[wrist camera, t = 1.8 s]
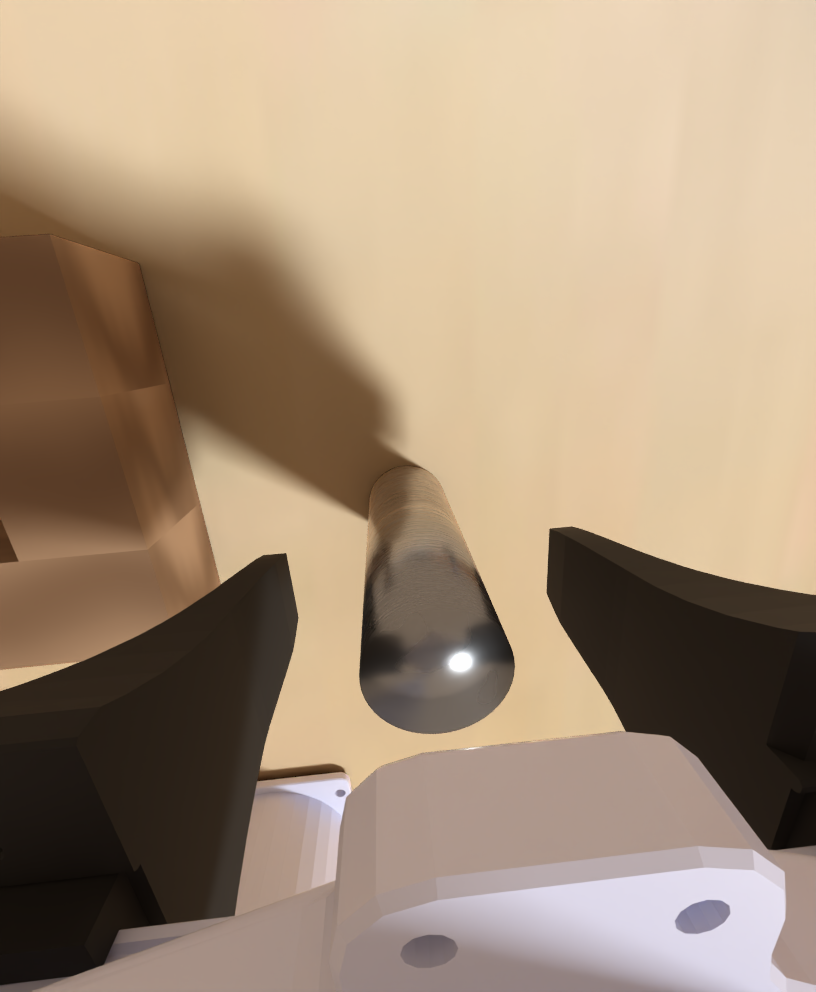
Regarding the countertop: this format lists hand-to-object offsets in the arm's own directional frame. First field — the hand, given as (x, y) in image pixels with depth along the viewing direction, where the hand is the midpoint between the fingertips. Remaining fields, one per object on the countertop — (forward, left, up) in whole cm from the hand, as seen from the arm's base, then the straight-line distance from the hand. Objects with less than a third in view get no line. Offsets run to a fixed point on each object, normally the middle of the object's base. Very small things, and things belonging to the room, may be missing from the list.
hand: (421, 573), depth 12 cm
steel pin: (0, 0, -6) cm, 6 cm away
